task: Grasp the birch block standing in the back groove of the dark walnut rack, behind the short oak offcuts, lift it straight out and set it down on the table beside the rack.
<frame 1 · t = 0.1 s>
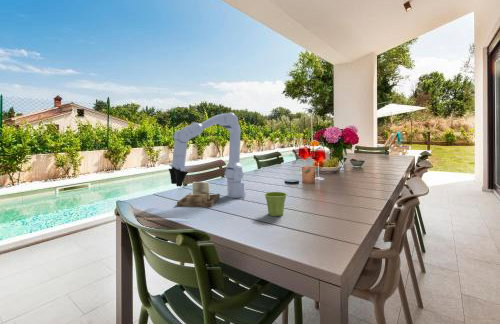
hand: (176, 185, 130), 11 cm above the table, tool pointing down, fingers open, 7 cm apart
birch block: (201, 200, 140), point 1 cm above the table, touching walnut rack
plant pot: (275, 214, 119), on the table
oak offcuts: (196, 204, 132), point 1 cm above the table, touching walnut rack
walnut rack: (199, 203, 137), on the table
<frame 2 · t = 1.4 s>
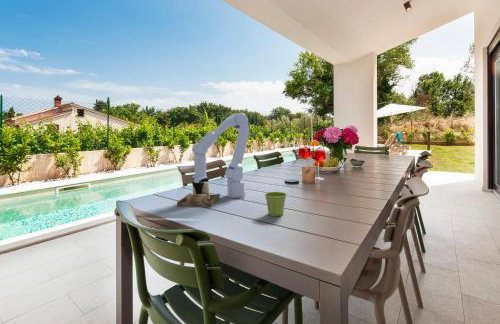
hand: (201, 194, 140), 4 cm above the table, tool pointing down, fingers open, 7 cm apart
nothing on the table moved.
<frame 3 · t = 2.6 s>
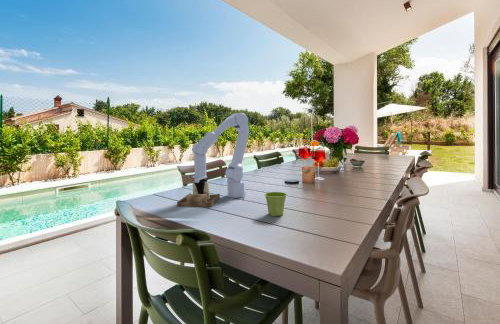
hand: (201, 194, 140), 4 cm above the table, tool pointing down, fingers closed on birch block, 1 cm apart
birch block: (201, 200, 140), point 1 cm above the table, touching gripper, walnut rack
everything else where it was.
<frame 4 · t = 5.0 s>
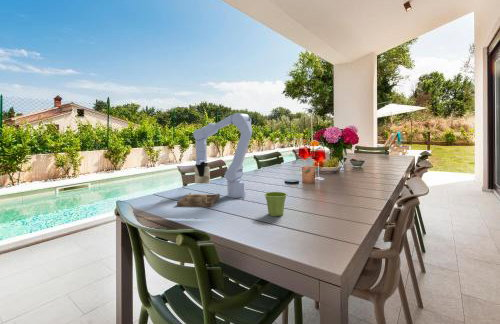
hand: (202, 176, 155), 10 cm above the table, tool pointing down, fingers closed on birch block
birch block: (202, 183, 155), point 7 cm above the table, touching gripper
everything else where it was.
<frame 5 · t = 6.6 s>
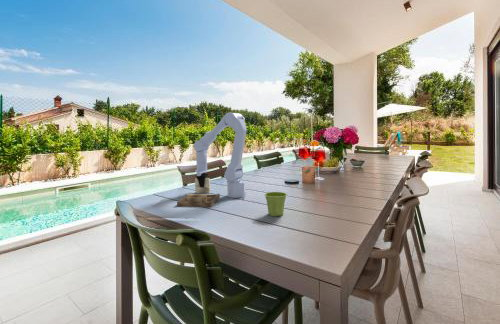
hand: (202, 186, 157), 4 cm above the table, tool pointing down, fingers closed on birch block, 1 cm apart
birch block: (202, 194, 157), on the table, touching gripper
everything else where it was.
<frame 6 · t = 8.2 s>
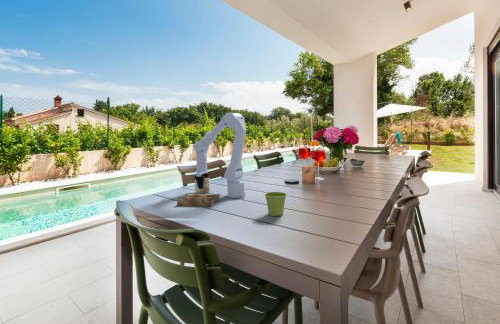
hand: (202, 187, 157), 4 cm above the table, tool pointing down, fingers open, 7 cm apart
birch block: (202, 194, 157), on the table
everything else where it was.
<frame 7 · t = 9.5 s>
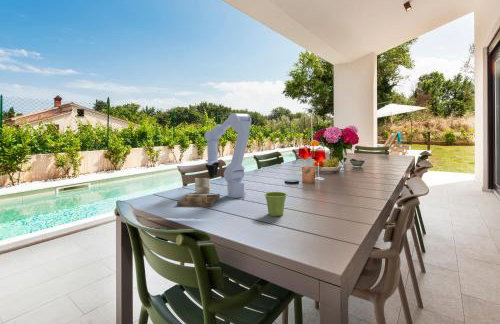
hand: (213, 176, 161), 9 cm above the table, tool pointing down, fingers open, 7 cm apart
nothing on the table moved.
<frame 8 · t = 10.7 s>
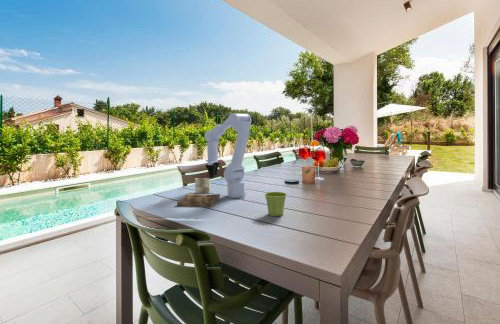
hand: (213, 176, 161), 9 cm above the table, tool pointing down, fingers open, 7 cm apart
nothing on the table moved.
at the end: birch block inside the target area (0.5 cm from its centre), on the table; birch block touching table; oak offcuts moved 0.0 cm from its start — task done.
